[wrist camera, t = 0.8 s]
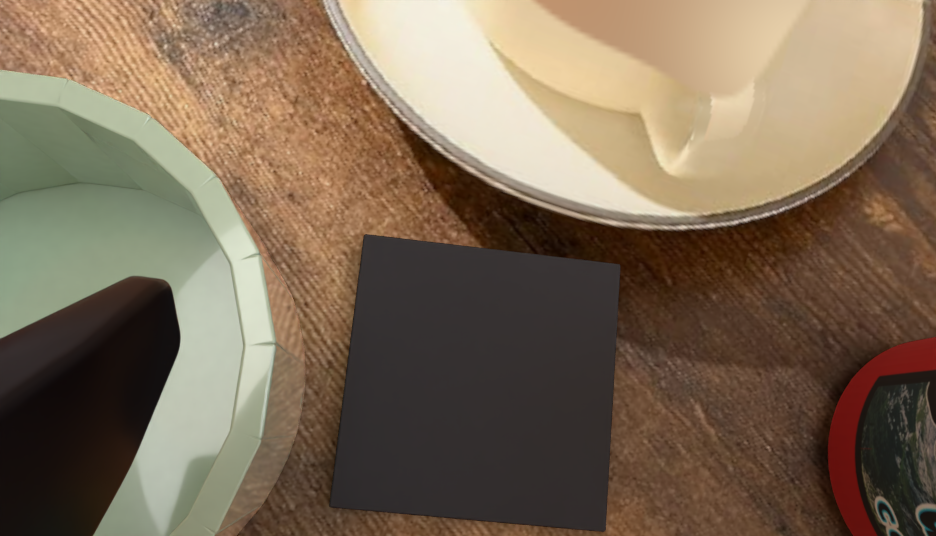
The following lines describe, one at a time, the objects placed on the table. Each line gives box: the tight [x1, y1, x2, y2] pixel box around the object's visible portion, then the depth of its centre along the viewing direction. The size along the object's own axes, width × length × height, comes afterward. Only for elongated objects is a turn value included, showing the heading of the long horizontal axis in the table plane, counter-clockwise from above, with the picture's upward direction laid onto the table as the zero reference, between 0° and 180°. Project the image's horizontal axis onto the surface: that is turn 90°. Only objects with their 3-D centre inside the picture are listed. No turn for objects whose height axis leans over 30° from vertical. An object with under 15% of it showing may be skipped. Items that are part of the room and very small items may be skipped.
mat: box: [329, 234, 620, 532], centre depth 20 cm, size 7×7×1 cm
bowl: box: [0, 70, 306, 536], centre depth 16 cm, size 11×11×6 cm
